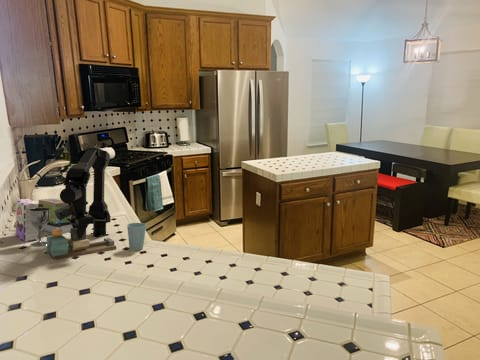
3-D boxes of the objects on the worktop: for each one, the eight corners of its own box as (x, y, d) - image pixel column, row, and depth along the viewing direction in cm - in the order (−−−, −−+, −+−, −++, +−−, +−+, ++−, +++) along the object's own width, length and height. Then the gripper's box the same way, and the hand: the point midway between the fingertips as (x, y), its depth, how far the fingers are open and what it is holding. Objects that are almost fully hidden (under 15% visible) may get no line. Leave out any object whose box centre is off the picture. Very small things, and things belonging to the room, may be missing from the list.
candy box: (15, 235, 161) (14, 199, 160) (29, 233, 166) (29, 198, 164) (24, 242, 152) (23, 204, 150) (39, 240, 156) (39, 203, 154)
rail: (46, 252, 141) (46, 235, 140) (106, 243, 157) (106, 227, 156) (54, 259, 133) (54, 241, 133) (116, 249, 150) (116, 232, 149)
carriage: (67, 246, 144) (67, 227, 143) (82, 244, 148) (82, 225, 148) (73, 251, 139) (73, 231, 138) (89, 248, 143) (89, 229, 142)
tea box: (75, 231, 174) (75, 201, 172) (55, 235, 165) (55, 203, 164) (57, 225, 182) (57, 196, 180) (37, 229, 173) (37, 199, 171)
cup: (142, 245, 157) (143, 222, 156) (147, 250, 150) (148, 226, 149) (125, 247, 153) (125, 223, 152) (129, 252, 146) (129, 227, 145)
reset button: (50, 233, 138) (50, 230, 138) (60, 232, 140) (60, 229, 140) (53, 236, 135) (53, 232, 135) (63, 234, 138) (63, 231, 137)
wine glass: (35, 248, 145) (35, 211, 144) (25, 244, 149) (24, 208, 148) (54, 243, 152) (54, 209, 150) (44, 240, 156) (43, 206, 154)
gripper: (49, 196, 143) (49, 234, 145) (64, 204, 129) (64, 246, 131) (78, 195, 150) (77, 231, 152) (95, 202, 137) (95, 241, 139)
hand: (78, 237), depth 143 cm, fingers closed on carriage, 3 cm apart
